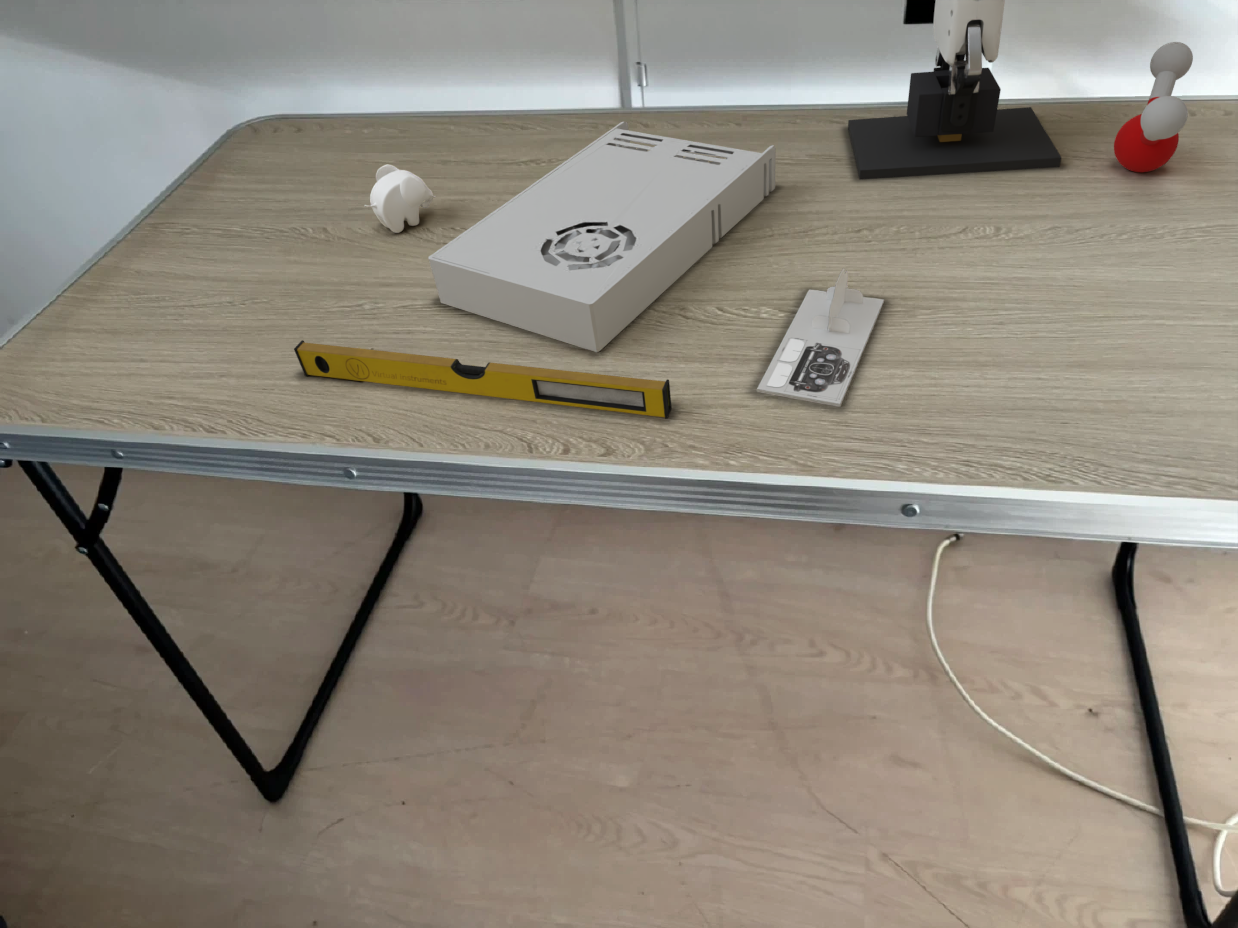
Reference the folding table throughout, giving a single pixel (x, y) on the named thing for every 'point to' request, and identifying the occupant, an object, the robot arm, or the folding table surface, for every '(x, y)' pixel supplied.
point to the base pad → (950, 147)
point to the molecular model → (1156, 114)
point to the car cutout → (823, 345)
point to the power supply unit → (601, 235)
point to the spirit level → (488, 379)
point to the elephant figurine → (398, 197)
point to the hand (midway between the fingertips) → (950, 115)
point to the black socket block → (930, 98)
